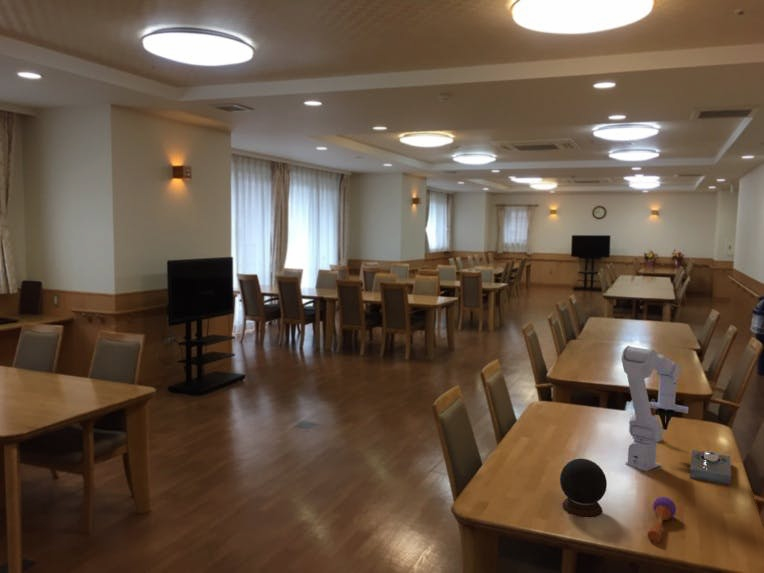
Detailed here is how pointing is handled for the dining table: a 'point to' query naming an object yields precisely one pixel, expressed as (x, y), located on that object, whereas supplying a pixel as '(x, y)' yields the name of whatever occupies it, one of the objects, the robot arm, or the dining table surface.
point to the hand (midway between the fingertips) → (665, 428)
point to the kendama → (661, 516)
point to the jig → (710, 468)
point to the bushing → (711, 456)
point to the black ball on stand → (583, 487)
